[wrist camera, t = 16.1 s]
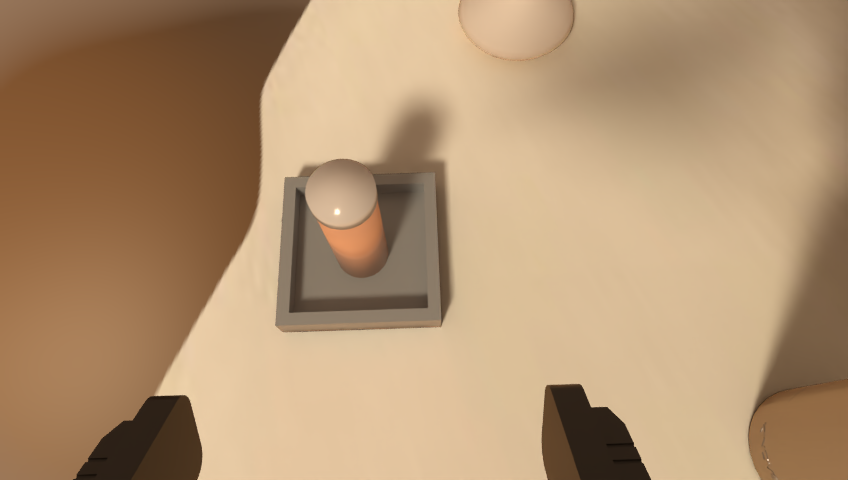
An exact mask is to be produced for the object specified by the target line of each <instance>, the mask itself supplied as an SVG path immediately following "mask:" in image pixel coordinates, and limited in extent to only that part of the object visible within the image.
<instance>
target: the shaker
mask: <svg viewBox="0 0 848 480" xmlns="http://www.w3.org/2000/svg"><path fill="white" fill-rule="evenodd" d="M305 197H306V201H307V204H308V206H309V208H310V210H311V212H312V214H313V216H314V217H315V218H316V219H317V221H318V223H319V225H320V227H321V229H322V231H323V233H324V235H325V237H326V239H327V241H328V243H329V245H330V247H331V249H332V251H333V253H334V255H335V257H336V259H337V261H338V263H339V265H340V267H341V268H342V269H343V271H344V272H346V273H347V274H349V275H351V276H353V277H357V278H366V277H370V276H373V275H375V274H376V273H378V272H379V271H380V270H381V269H382V268H383V267H384V266H385V264H386V262H387V259H388V246H387V241H386V237H385V232H384V227H383V223H382V218H381V214H380V209H379V205H378V194H377V188H376V184H375V180H374V177H373V175H372V174H371V172H370V171H369V170H368V169H367V168H366V167H365V166H364V165H362V164H361V163H359V162H356V161H354V160H349V159H336V160H332V161H329V162H326V163H324V164H322V165H321V166H319V167H318V168H317V169H316V170H315V171H314V172H313V173H312V174H311V176H310V177H309V179H308V182H307V184H306V189H305Z"/></svg>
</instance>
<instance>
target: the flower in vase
mask: <svg viewBox="0 0 848 480" xmlns="http://www.w3.org/2000/svg"><path fill="white" fill-rule="evenodd" d="M458 16H459V21H460V24H461V27H462V29H463V31H464V33H465V34H466V36H467V37H468V38H469V39H470V40H471V41H472V43H473V44H475V45H476V46H477V47H478V48H479V49H481V50H482V51H484V52H486V53H487V54H490V55H492V56H494V57H497V58H501V59H505V60H513V61H522V60H530V59H534V58H537V57H540V56H543V55H545V54H547V53H549V52H551V51H553V50H554V49H556V48H557V47H558V46H559V45H561V44H562V43H563V41H564V40H565V39H566V38H567V36H568V35H569V33H570V31H571V28H572V24H573V8H572V3H571V0H460V3H459V9H458Z"/></svg>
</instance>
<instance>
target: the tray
mask: <svg viewBox="0 0 848 480" xmlns="http://www.w3.org/2000/svg"><path fill="white" fill-rule="evenodd" d="M372 175H373V177H374V180H375V184H376V188H377V194H378V205H379V209H380V214H381V218H382V223H383V227H384V232H385V237H386V241H387V246H388V259H387V262H386V264H385V266H384V267H383V268H382V269H381V270H380V271H379V272H378V273H376V274H375V275H373V276H370V277H366V278H357V277H353V276H351V275H349V274H347V273H346V272H344V271H343V269H342V268H341V267H340V265H339V263H338V261H337V259H336V257H335V255H334V253H333V251H332V249H331V247H330V245H329V243H328V241H327V239H326V237H325V235H324V233H323V231H322V229H321V227H320V225H319V223H318V221H317V219H316V218H315V217H314V216H313V214H312V212H311V210H310V208H309V206H308V204H307V201H306V197H305V189H306V184H307V182H308V179H309V177H285V183H284V199H283V215H282V230H281V246H280V262H279V277H278V293H277V309H276V324H275V326H276V327H277V328H279V329H280V330H281V331H282V332H307V331H336V330H365V329H395V328H424V327H441V301H440V278H439V255H438V232H437V209H436V186H435V172H429V173H400V174H372Z"/></svg>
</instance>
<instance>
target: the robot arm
mask: <svg viewBox="0 0 848 480" xmlns="http://www.w3.org/2000/svg"><path fill="white" fill-rule="evenodd" d="M749 446H750V454H751V457H752V460H753V463H754V466H755V469H756V470H757V472H758V474H759V476H760V478H761V480H848V379H844V380H839V381H833V382H828V383H821V384H816V385H810V386H805V387H800V388H794V389H789V390H785V391H781V392H778V393H776V394H774V395H772V396H770V397H769V398H767V399H766V400H765V401H764V402H763V403H762V404H761V405H760V406H759V408H758V409H757V411H756V412H755V414H754V416H753V419H752V422H751V425H750V431H749ZM542 454H543V461H544V467H545V471H546V474H547V478H548V480H651V478H650V476H649V474H648V472H647V470H646V468H645V466H644V464H643V463H642V462H641V457H640V455H639V453H638V451H637V449H636V447H634V442H633V440H632V438H631V436H630V434H629V432H628V430H627V428H626V426H625V424H624V423H623V422H622V421H621V420H620V419H619V418H618V417H617V416H616V415H615V414H614V413H613V412H612V411H611V410H610V409H609V408H608V407H593V408H591V406H590V404H589V401H588V399H587V396H586V394H585V392H584V389H583V387H582V386H581V385H580V384H565V385H547V386H546V389H545V398H544V412H543V426H542ZM201 465H202V446H201V442H200V438H199V434H198V430H197V426H196V422H195V418H194V415H193V411H192V407H191V403H190V400H189V398H188V397H187V396H185V395H177V396H152V397H149V398H148V399H147V400H146V401H145V403H144V404H143V406H142V407H141V409H140V410H139V412H138V413H137V415H136V416H135V418H134V419H133V421H123V422H122V423H121V424H119V425H118V426H117V427H116V428H114V429H113V430H112V431H111V432H109V434H107V435H106V436H104V437H103V438H102V439H101V441H100V442H99V444H98V445H97V447H96V448H95V449H94V451H93V452H92V454H91V455H90V456H89V458H88V462H85V464H84V465H83V466H82V468H81V469H80V471H79V472H78V474H77V478H76V479H73V480H197V479H198V476H199V473H200V470H201Z"/></svg>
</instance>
